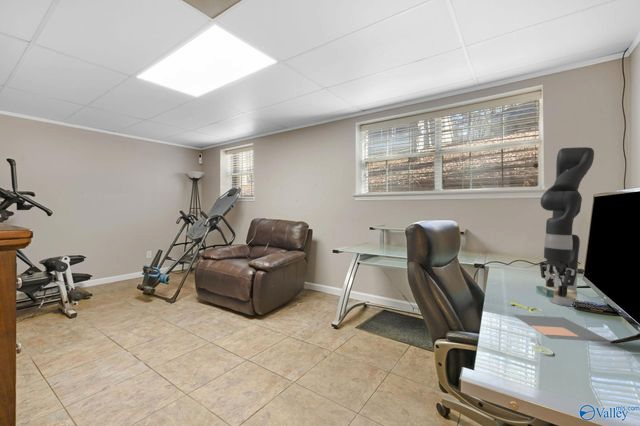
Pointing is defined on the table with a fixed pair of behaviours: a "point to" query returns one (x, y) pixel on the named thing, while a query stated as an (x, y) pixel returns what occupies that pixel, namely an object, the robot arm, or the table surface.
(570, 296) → the tile
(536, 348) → the sign
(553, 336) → the mat
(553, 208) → the robot arm
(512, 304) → the key
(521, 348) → the table surface
